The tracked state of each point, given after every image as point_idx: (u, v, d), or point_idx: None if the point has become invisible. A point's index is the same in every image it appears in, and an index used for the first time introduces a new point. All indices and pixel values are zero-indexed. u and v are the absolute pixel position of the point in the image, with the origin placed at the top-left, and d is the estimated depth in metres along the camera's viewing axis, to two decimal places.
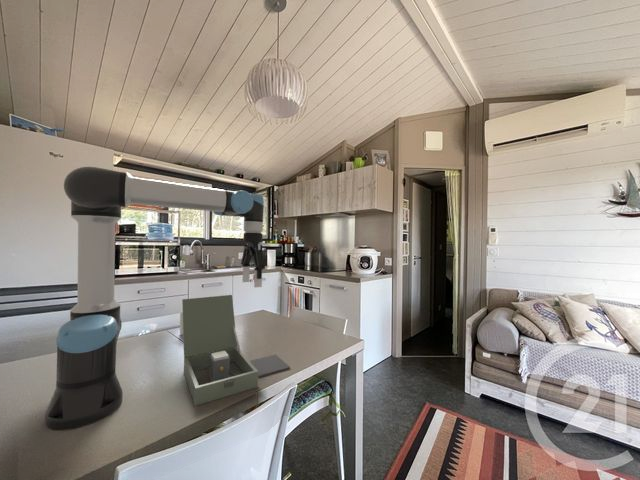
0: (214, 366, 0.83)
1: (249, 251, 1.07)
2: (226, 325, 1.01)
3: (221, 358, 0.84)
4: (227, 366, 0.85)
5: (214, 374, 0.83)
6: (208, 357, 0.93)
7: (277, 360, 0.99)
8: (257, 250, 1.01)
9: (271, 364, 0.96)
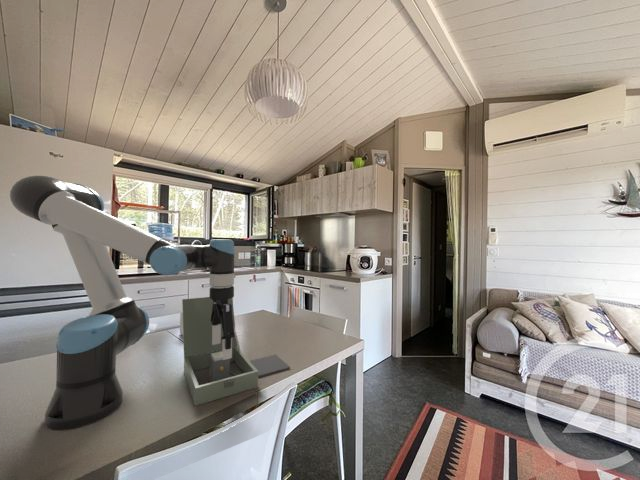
0: (214, 366, 0.83)
1: None
2: None
3: (221, 358, 0.84)
4: (227, 366, 0.85)
5: (214, 374, 0.83)
6: (208, 357, 0.93)
7: (277, 360, 0.99)
8: (224, 313, 0.80)
9: (271, 364, 0.96)
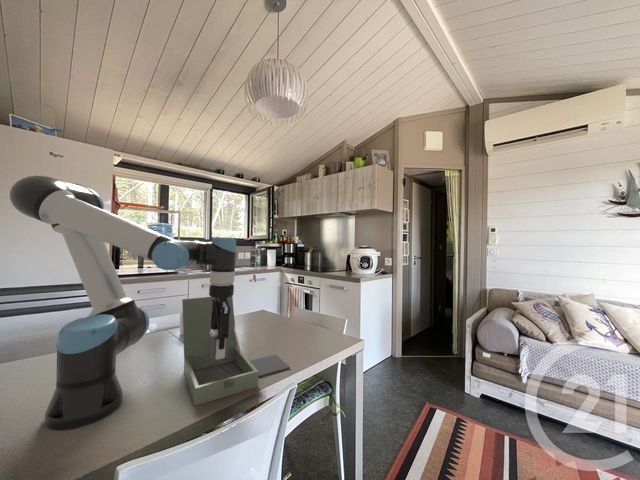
0: (213, 342, 0.83)
1: None
2: None
3: None
4: (226, 343, 0.85)
5: (213, 350, 0.83)
6: (208, 357, 0.93)
7: (277, 360, 0.99)
8: (222, 315, 0.80)
9: (271, 364, 0.96)
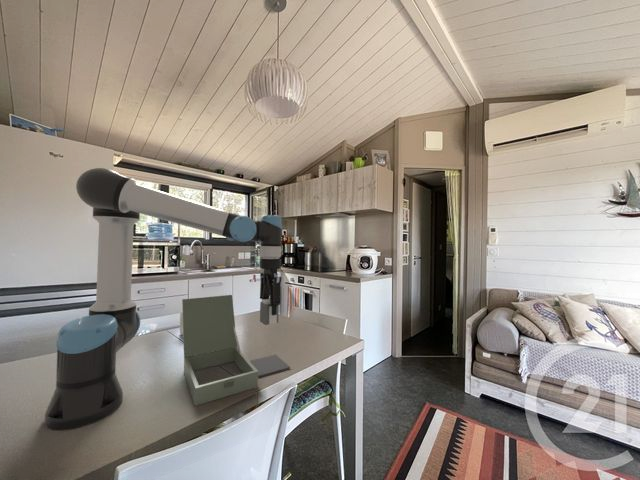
0: (266, 308, 0.93)
1: (266, 279, 0.96)
2: (226, 325, 1.01)
3: None
4: None
5: (266, 316, 0.93)
6: (208, 357, 0.93)
7: (277, 360, 0.99)
8: (275, 284, 0.90)
9: (271, 364, 0.96)
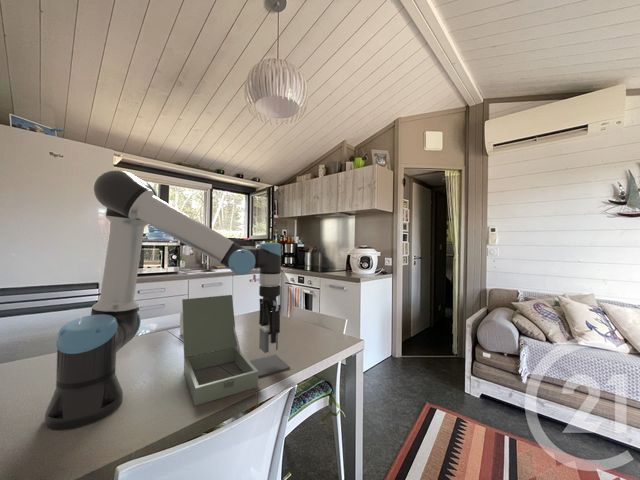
0: (265, 336, 0.93)
1: (265, 306, 0.96)
2: (226, 325, 1.01)
3: None
4: (276, 337, 0.95)
5: (265, 343, 0.93)
6: (208, 357, 0.93)
7: (277, 360, 0.99)
8: (274, 313, 0.90)
9: (271, 364, 0.96)
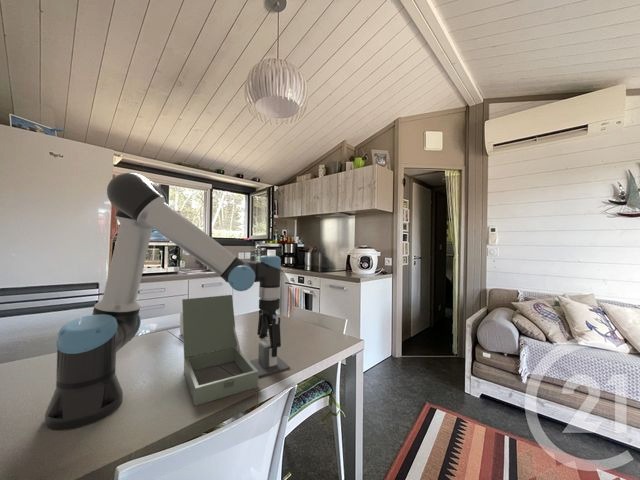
0: (264, 352, 0.93)
1: (265, 319, 0.96)
2: (226, 325, 1.01)
3: (270, 345, 0.94)
4: None
5: (264, 359, 0.93)
6: (208, 357, 0.93)
7: (277, 360, 0.99)
8: (274, 326, 0.90)
9: None
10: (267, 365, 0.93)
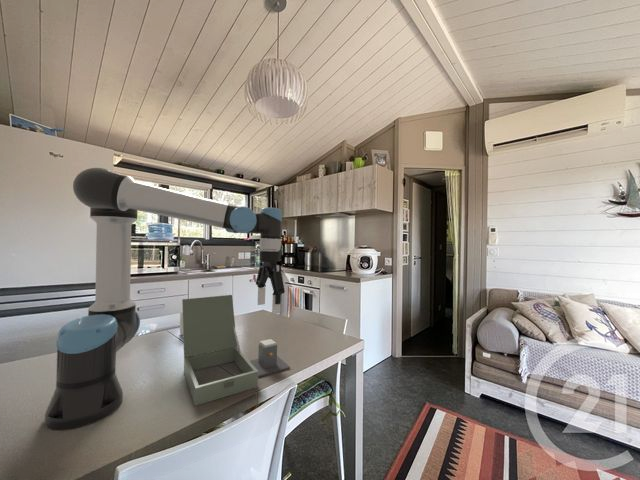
0: (264, 352, 0.93)
1: (266, 271, 0.96)
2: (226, 325, 1.01)
3: (270, 345, 0.94)
4: (275, 352, 0.95)
5: (264, 359, 0.93)
6: (208, 357, 0.93)
7: (277, 360, 0.99)
8: (275, 272, 0.89)
9: None
10: (267, 365, 0.93)
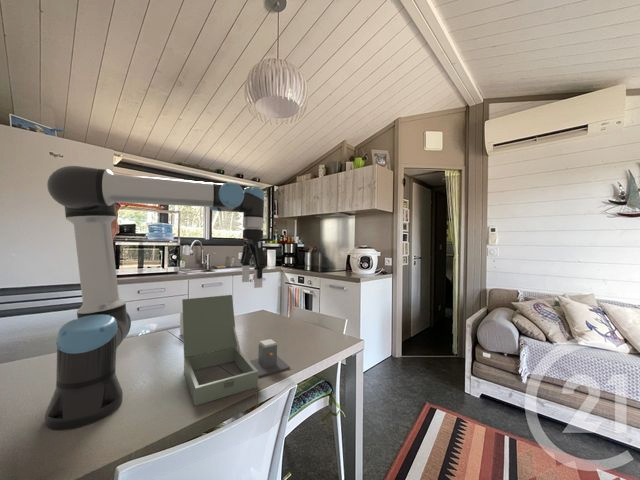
0: (264, 352, 0.93)
1: (249, 249, 1.00)
2: (226, 325, 1.01)
3: (270, 345, 0.94)
4: (275, 352, 0.95)
5: (264, 359, 0.93)
6: (208, 357, 0.93)
7: (277, 360, 0.99)
8: (257, 248, 0.94)
9: None
10: (267, 365, 0.93)
